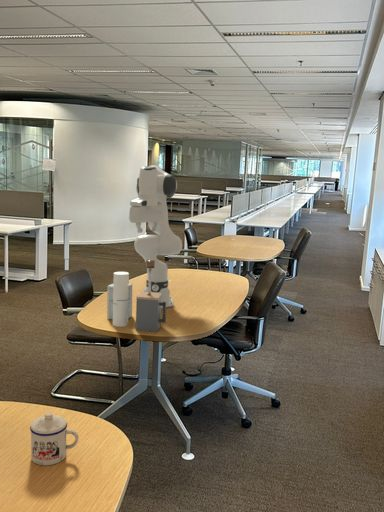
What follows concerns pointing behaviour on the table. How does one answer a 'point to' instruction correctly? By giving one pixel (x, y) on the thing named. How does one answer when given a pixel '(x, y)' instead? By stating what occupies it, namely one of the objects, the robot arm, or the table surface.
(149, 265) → the plunger
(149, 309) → the press jug
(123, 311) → the cylindrical container
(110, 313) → the supplement box
